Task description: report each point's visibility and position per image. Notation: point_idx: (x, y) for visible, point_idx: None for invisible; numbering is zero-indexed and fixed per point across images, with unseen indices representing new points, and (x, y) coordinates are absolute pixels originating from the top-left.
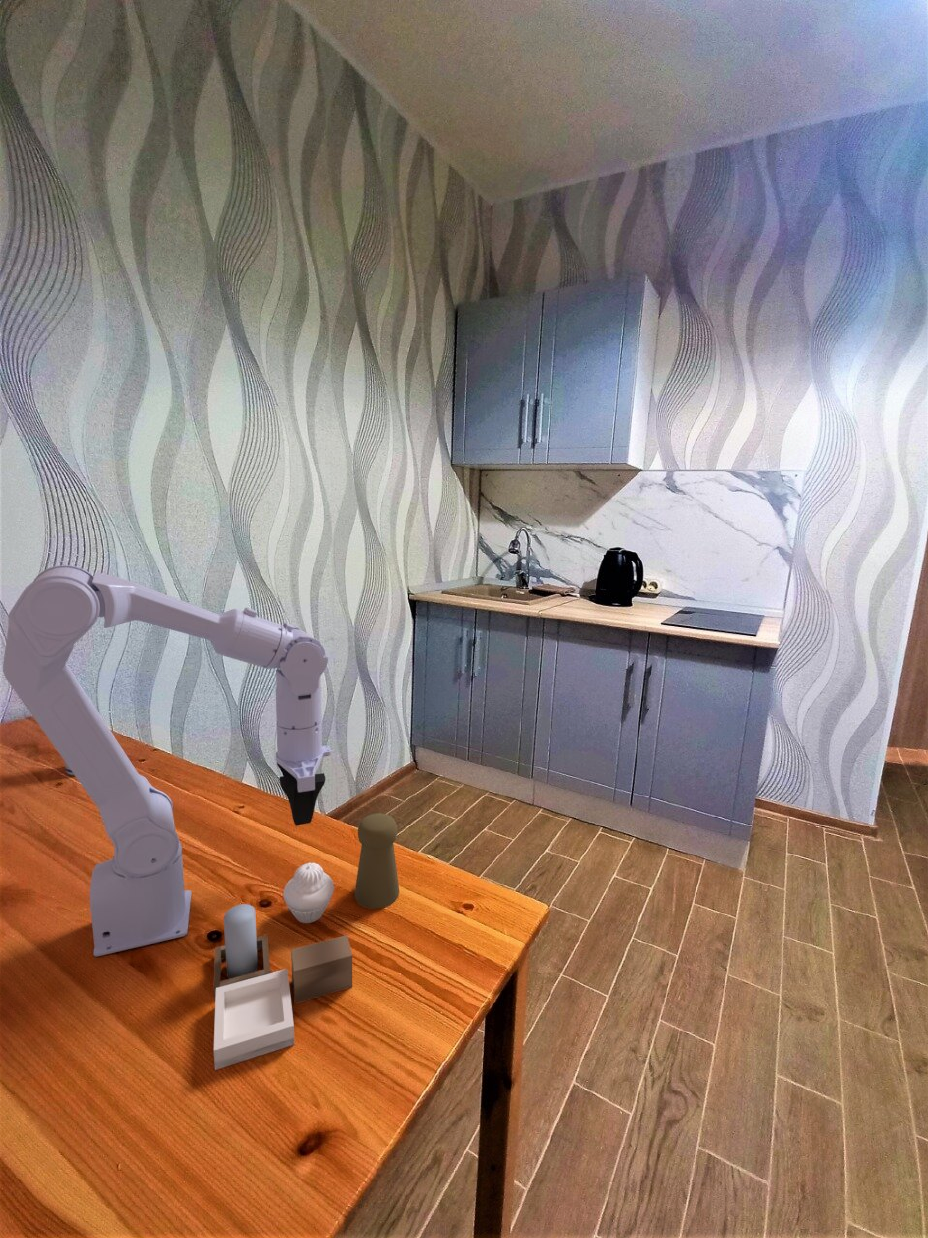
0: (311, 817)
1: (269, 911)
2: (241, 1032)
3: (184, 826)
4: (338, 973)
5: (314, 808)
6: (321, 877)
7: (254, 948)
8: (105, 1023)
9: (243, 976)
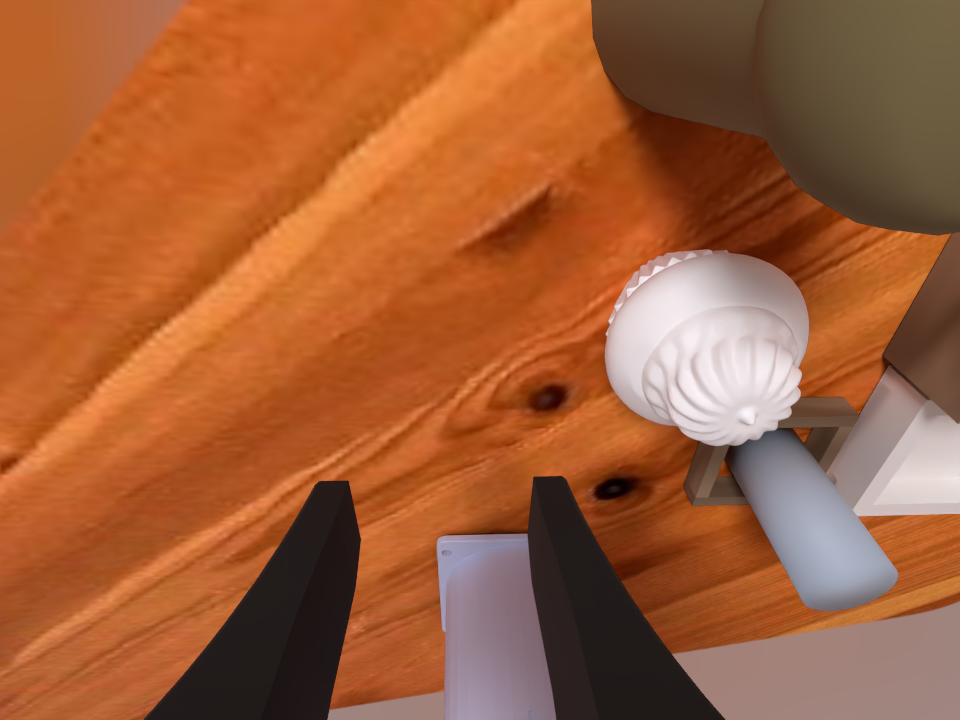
0: (576, 507)
1: (589, 390)
2: (952, 456)
3: (118, 562)
4: None
5: (605, 558)
6: (778, 347)
7: (824, 474)
8: (727, 590)
9: (824, 461)
